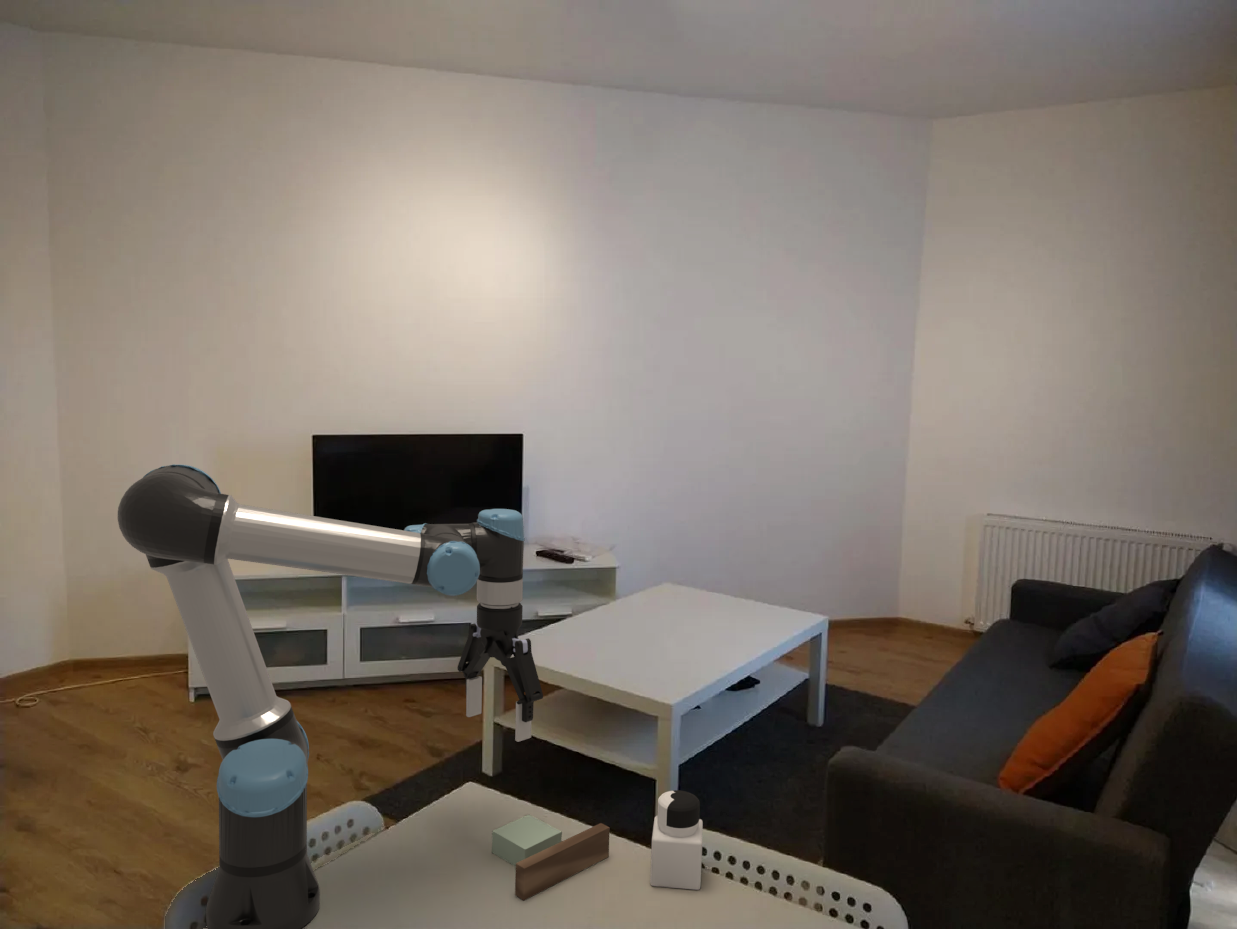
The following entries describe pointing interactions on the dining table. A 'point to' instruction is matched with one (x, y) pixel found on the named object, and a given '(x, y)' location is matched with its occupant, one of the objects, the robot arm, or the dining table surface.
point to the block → (523, 839)
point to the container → (677, 842)
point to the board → (561, 861)
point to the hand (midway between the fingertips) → (497, 726)
